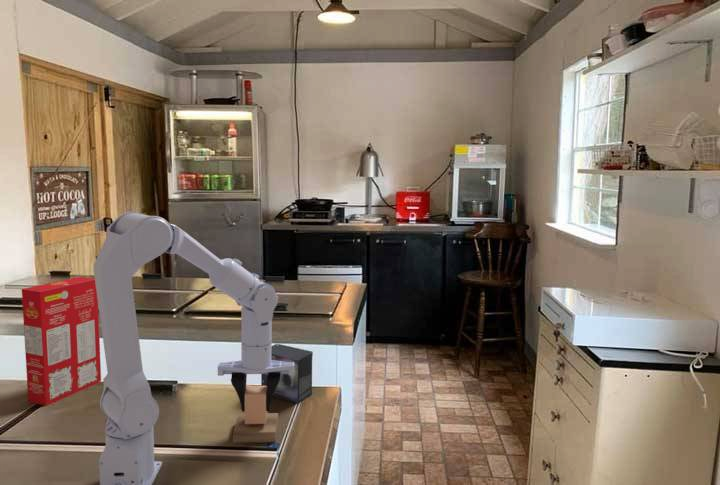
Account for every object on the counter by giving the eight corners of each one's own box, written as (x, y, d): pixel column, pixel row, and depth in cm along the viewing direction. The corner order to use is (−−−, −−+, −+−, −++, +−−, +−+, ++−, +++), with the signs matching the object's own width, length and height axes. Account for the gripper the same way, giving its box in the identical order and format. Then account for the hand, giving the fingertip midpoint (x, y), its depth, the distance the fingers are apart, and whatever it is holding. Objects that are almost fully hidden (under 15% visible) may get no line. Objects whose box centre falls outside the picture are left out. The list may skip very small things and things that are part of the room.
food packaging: (84, 377, 129) (80, 276, 126) (101, 381, 128) (97, 278, 124) (28, 401, 116) (21, 289, 112) (46, 405, 114) (40, 291, 111)
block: (265, 423, 103) (265, 394, 102) (244, 424, 102) (244, 394, 102) (267, 414, 107) (267, 385, 106) (247, 414, 106) (247, 386, 106)
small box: (259, 394, 123) (259, 350, 121) (276, 384, 129) (276, 342, 127) (297, 404, 118) (297, 359, 117) (313, 394, 124) (313, 350, 122)
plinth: (275, 442, 102) (275, 432, 101) (232, 442, 101) (232, 432, 101) (278, 422, 109) (278, 413, 109) (238, 422, 109) (238, 413, 108)
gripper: (295, 335, 107) (294, 399, 109) (221, 335, 106) (222, 400, 108) (293, 347, 100) (293, 415, 102) (215, 347, 99) (215, 416, 101)
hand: (256, 409), depth 104 cm, fingers closed on block, 4 cm apart
